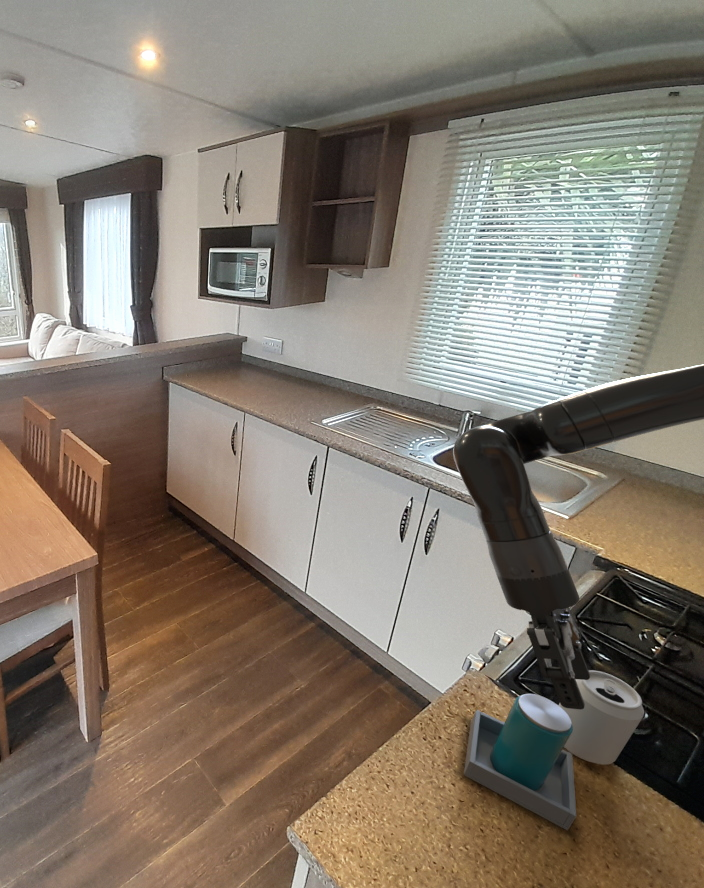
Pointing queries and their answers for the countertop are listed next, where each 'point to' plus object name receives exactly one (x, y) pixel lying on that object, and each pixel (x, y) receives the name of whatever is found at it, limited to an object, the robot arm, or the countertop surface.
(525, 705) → the slim can
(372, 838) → the countertop surface
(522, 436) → the robot arm
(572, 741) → the can
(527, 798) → the gray rectangular tray
